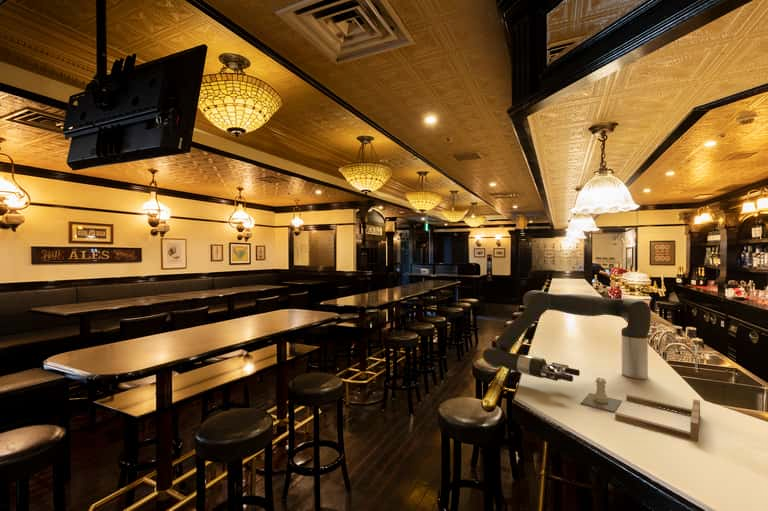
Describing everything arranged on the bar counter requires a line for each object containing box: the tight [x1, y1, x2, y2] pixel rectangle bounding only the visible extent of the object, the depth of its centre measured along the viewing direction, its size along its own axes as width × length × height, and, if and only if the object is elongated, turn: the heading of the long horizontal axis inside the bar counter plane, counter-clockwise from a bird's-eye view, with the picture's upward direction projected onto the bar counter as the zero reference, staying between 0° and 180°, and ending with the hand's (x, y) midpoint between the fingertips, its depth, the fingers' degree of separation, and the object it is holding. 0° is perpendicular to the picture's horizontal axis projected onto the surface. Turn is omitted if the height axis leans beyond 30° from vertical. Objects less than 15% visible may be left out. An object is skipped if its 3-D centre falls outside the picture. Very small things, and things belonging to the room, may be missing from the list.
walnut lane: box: [614, 394, 701, 442], centre depth 110 cm, size 21×20×5 cm
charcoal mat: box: [580, 392, 622, 414], centre depth 121 cm, size 12×10×1 cm
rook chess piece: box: [594, 377, 609, 404], centre depth 121 cm, size 4×4×8 cm
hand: (576, 375), depth 126 cm, fingers open, 8 cm apart
